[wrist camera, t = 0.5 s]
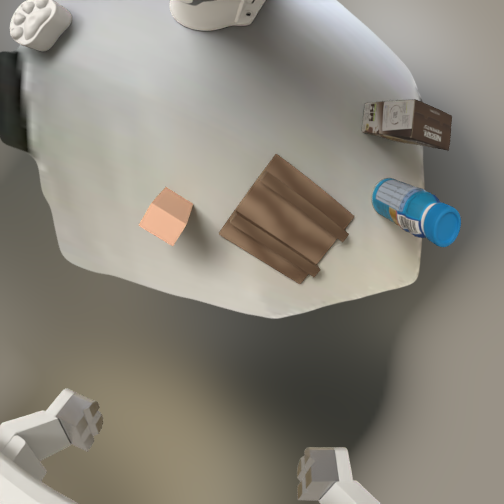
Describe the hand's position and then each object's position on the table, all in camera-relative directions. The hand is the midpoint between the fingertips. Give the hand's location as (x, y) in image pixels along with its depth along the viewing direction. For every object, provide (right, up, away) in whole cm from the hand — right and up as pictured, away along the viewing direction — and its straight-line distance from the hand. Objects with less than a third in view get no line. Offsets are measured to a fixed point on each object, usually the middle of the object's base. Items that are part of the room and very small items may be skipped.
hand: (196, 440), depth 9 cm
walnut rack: (+9, +13, +46) cm, 49 cm away
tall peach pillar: (-12, +16, +42) cm, 47 cm away
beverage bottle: (+30, +19, +46) cm, 58 cm away
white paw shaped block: (-40, +54, +22) cm, 71 cm away
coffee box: (+28, +33, +40) cm, 59 cm away
